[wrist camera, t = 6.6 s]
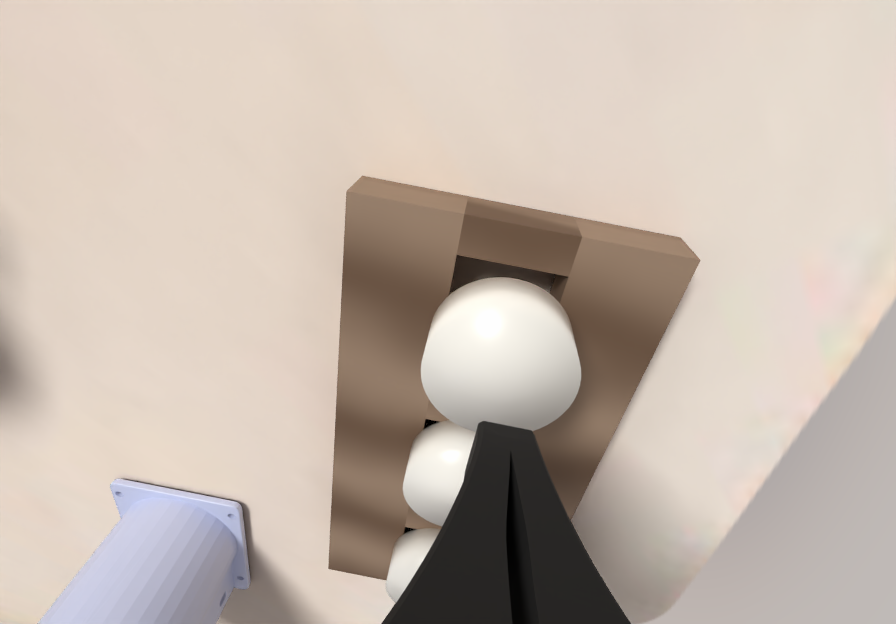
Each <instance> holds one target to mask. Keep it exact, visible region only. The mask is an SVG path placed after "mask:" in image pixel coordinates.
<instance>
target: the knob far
mask: <svg viewBox="0 0 896 624" xmlns="http://www.w3.org/2000/svg"><path fill="white" fill-rule="evenodd" d="M440 530H441V529H434V528H423V529H415V530H412V531H409V532H407V533H405V534H403V535H402V536H400V537H399V538H398V539H397V541H396V542H395V544H394V548H393V553H392V558H391V562H390V567H389V571H388V576H387V581H386V590H387V593H388V595H389V596H390V598H391V599H392V600H393V601H394V602H395V603H396V602H397V601H398V599H399V598H400V596H401V595H402V593H403V592H404V590H405V589H406V587H407V586H408V584H409V583H410V581H411V579H412V578H413V576H414V575H415V573H416V571H417V570H418V568H419V566H420V565H421V563H422V561H423V560H424V558H425V557H426V555H427V553H428V551H429V550H430V548H431V546H432V544H433V543H434V541H435V539H436V537H437V535H438V533H439V532H440Z"/></svg>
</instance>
